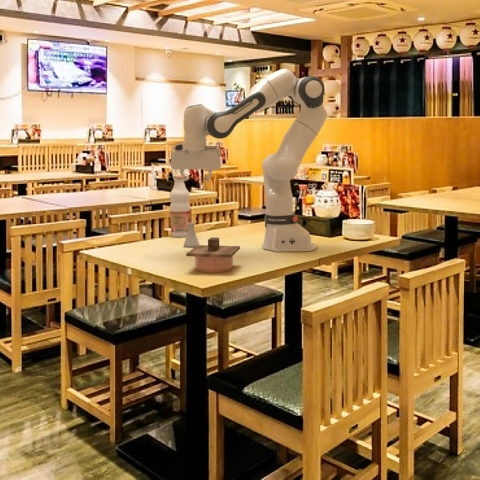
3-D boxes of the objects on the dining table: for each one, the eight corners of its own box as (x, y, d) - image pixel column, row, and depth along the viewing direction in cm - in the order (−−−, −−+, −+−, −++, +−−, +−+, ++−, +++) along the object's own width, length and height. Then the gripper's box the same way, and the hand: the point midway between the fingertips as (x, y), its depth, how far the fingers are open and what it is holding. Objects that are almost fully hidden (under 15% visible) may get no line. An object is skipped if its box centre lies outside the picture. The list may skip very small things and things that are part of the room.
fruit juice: (167, 235, 309) (165, 176, 304) (184, 233, 314) (182, 175, 309) (177, 238, 301) (175, 177, 296) (194, 236, 306) (193, 176, 302)
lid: (239, 248, 241) (239, 235, 240) (231, 257, 225) (230, 243, 225) (197, 247, 244) (197, 234, 243) (186, 256, 228) (185, 242, 228)
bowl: (235, 265, 241) (235, 249, 240) (228, 273, 228) (227, 256, 227) (201, 264, 243) (200, 248, 242) (192, 272, 231) (191, 255, 230)
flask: (197, 247, 277) (197, 224, 275) (181, 247, 278) (180, 224, 277) (202, 244, 284) (201, 222, 282) (185, 244, 285) (185, 221, 284)
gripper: (222, 145, 262) (223, 180, 264) (173, 146, 266) (174, 180, 268) (219, 146, 256) (219, 181, 258) (168, 146, 260) (169, 181, 262)
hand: (196, 180), depth 263 cm, fingers open, 8 cm apart
